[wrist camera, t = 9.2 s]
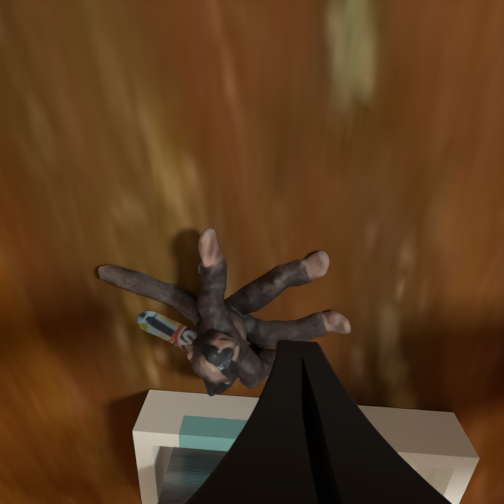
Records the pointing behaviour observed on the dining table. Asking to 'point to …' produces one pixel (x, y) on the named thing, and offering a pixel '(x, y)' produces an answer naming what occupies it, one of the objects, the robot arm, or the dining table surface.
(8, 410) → the dining table surface
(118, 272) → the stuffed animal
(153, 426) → the white rectangular tray
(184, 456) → the rider
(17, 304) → the dining table surface
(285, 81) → the dining table surface
